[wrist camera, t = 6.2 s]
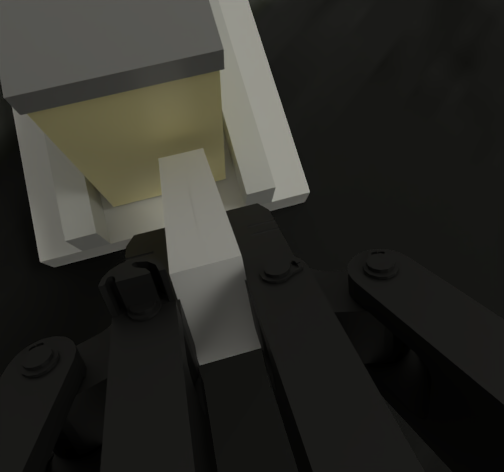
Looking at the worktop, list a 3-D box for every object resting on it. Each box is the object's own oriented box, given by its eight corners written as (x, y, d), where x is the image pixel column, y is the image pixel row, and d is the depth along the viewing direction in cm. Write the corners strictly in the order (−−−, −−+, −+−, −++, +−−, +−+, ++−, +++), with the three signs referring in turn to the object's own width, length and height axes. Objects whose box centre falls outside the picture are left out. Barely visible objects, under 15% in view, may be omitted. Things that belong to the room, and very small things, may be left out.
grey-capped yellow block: (112, 209, 19) (3, 98, 10) (88, 103, 20) (-29, -83, 11) (228, 180, 19) (223, 49, 11) (199, 78, 20) (173, -119, 12)
